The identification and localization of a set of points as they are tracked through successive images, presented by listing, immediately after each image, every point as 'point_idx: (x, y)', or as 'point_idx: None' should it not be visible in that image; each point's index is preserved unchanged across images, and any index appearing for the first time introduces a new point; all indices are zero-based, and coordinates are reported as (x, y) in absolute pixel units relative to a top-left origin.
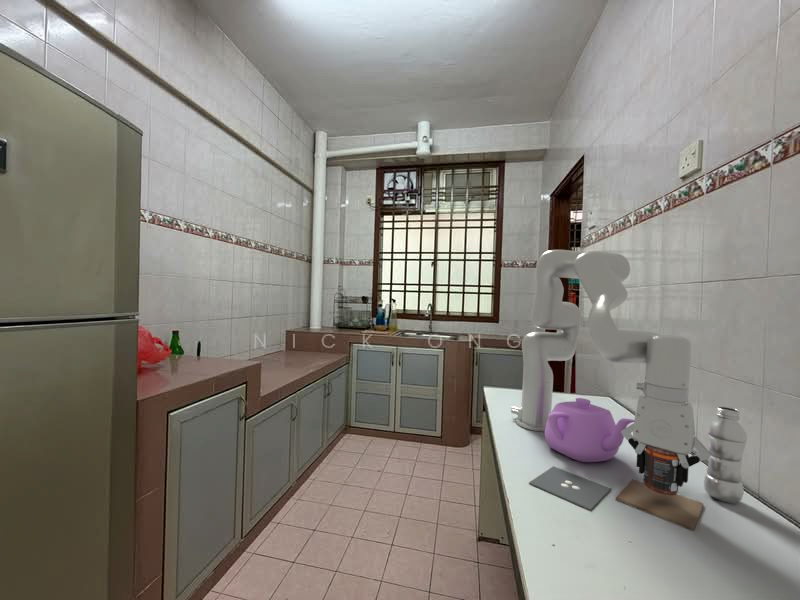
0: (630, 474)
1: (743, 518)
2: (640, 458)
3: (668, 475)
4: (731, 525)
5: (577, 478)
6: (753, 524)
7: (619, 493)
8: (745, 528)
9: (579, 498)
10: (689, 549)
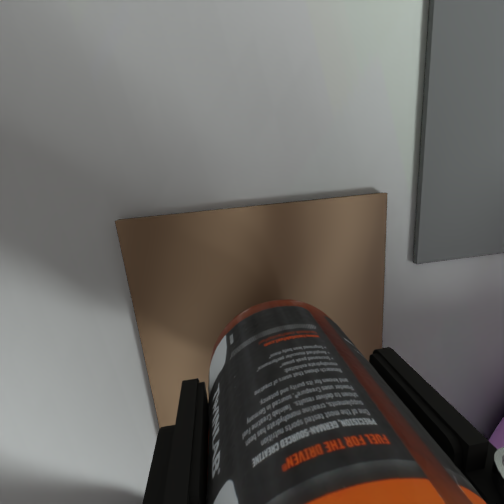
0: None
1: (59, 470)
2: (457, 418)
3: (245, 381)
4: (61, 388)
5: None
6: (26, 459)
7: (384, 242)
8: (28, 409)
9: (492, 36)
10: (72, 37)
